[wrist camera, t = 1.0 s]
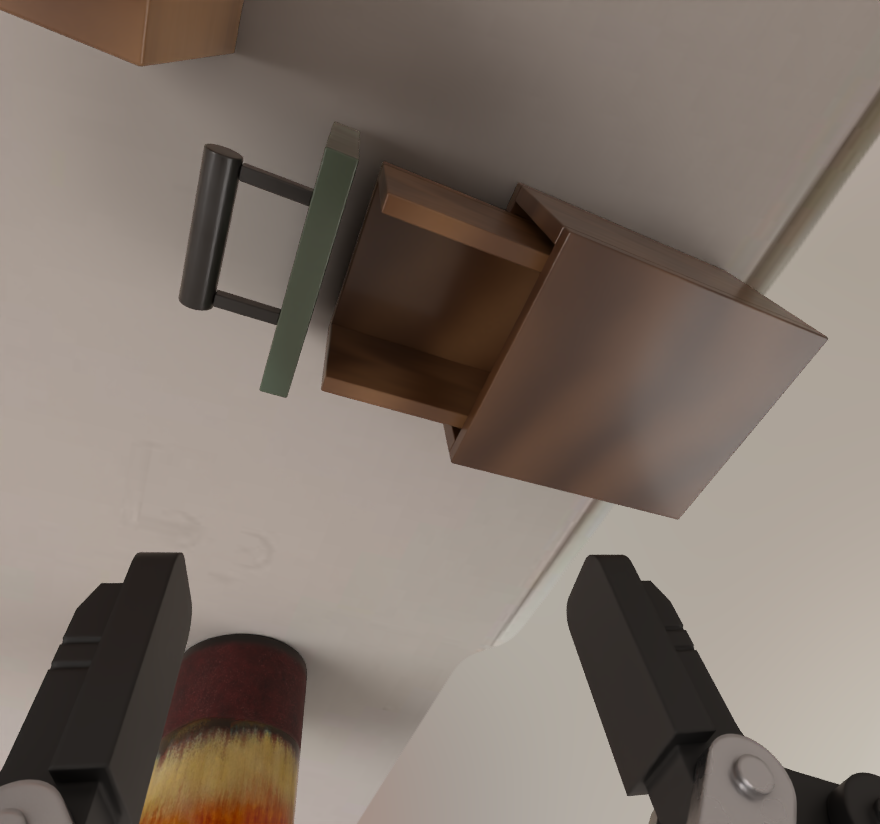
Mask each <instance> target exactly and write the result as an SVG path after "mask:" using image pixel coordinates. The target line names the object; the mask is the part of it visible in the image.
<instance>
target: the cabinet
mask: <svg viewBox="0 0 880 824" xmlns="http://www.w3.org/2000/svg"><path fill="white" fill-rule="evenodd" d="M505 211H508V212H510V213H513V214H515V215H517V216H520V217H522V218H525V219H527V220H530V221H532V222H535V223H536V224H537V225H538V227H539V228H540V229H541V230H542V231H543V232H544V233H545V234H546V235H547V236H548V238H549V239H550V240H551V241H552V242H553V243H554V244H555V246H554V248H553V250H552V252H551V253H550V255H549V257H548V259H547V261H546V263H545V265H544V267H543V269H542V271H541V273H540V275H539V277H538V279H537V281H536V283H535V285H534V287H533V289H532V291H531V293H530V295H529V297H528V299H527V301H526V303H525V305H524V307H523V309H522V311H521V313H520V315H519V317H518V319H517V321H516V322H515V324H514V326H513V328H512V330H511V332H510V334H509V336H508V338H507V340H506V342H505V344H504V346H503V348H502V350H501V352H500V354H499V356H498V358H497V360H496V362H495V364H494V366H493V368H492V370H491V372H490V374H489V376H488V378H487V380H486V382H485V384H484V386H483V388H482V390H481V392H480V393H479V395H478V397H477V399H476V401H475V403H474V405H473V407H472V409H471V411H470V413H469V415H468V417H467V419H466V421H465V423H464V425H463V427H462V429H461V428H457V427H454V426H450V425H446V424H443V425H444V430H445V435H446V440H447V445H448V450H449V452H450V453H449V454H450V459H451V462H452V463H454V464H458V465H462V466H466V467H470V468H474V469H478V470H482V471H486V472H490V473H494V474H498V475H502V476H506V477H510V478H514V479H518V480H522V481H526V482H530V483H534V484H538V485H542V486H546V487H550V488H554V489H558V490H562V491H566V492H570V493H574V494H578V495H582V496H586V497H590V498H594V499H598V500H602V501H606V502H610V503H614V504H618V505H622V506H626V507H631V508H634V509H638V510H642V511H646V512H650V513H654V514H658V515H662V516H666V517H670V518H674V519H679V518H680V517H681V516H682V515H683V513H684V512H685V511H686V510H687V508H688V507H689V506H690V505H691V504H692V503H693V501H694V500H695V499H696V498H697V497H698V495H699V494H700V493H701V492H702V491H703V489H704V488H705V487H706V486H707V485H708V483H709V482H710V481H711V480H712V479H713V477H714V476H715V475H716V474H717V472H718V471H719V470H720V469H721V468H722V466H723V465H724V464H725V463H726V462H727V460H728V459H729V458H730V457H731V456H732V454H733V453H734V452H735V451H736V450H737V448H738V447H739V446H740V445H741V443H742V442H743V441H744V440H745V439H746V438H747V436H748V435H749V434H750V433H751V431H752V430H753V429H754V428H755V426H757V424H758V423H759V422H760V421H761V420H762V418H763V417H764V416H765V415H766V413H767V412H768V411H769V410H770V409H771V407H772V406H773V405H774V404H775V403H776V401H777V400H778V399H779V398H780V397H781V395H782V394H783V393H784V392H785V391H786V389H787V388H788V387H789V386H790V385H791V383H792V382H793V381H794V380H795V378H796V377H797V376H798V375H799V373H801V371H802V370H803V369H804V368H805V366H806V365H807V364H808V363H809V362H810V361H811V359H812V358H813V357H814V356H815V354H816V353H817V352H818V351H819V350H820V348H821V347H822V346H823V345H824V344H825V342H826V341H827V340H828V338H827V337H826V336H825V335H823V334H822V333H820V332H818V331H817V330H816V329H814V328H812V327H811V326H809V325H808V324H806V323H805V322H803V321H802V320H800V319H799V318H797V317H795V316H794V315H792V314H791V313H789V312H788V311H786V310H785V309H783V308H782V307H780V306H779V305H777V304H776V303H774V302H773V301H771V300H769V299H768V298H767V297H765V296H763V295H762V294H760V293H759V292H757V291H756V290H754V289H753V288H751V287H750V286H748V285H747V284H745V283H744V282H742V281H741V280H739V279H737V278H736V277H734V276H733V275H731V274H730V273H728V272H727V271H725V270H722V269H720V268H718V267H715V266H713V265H711V264H708V263H706V262H704V261H701V260H699V259H697V258H694V257H692V256H690V255H687V254H685V253H683V252H680V251H678V250H676V249H673V248H671V247H669V246H666V245H664V244H662V243H659V242H657V241H655V240H652V239H650V238H648V237H645V236H643V235H641V234H638V233H636V232H634V231H631V230H629V229H627V228H625V227H622V226H620V225H618V224H615V223H613V222H611V221H608V220H606V219H604V218H601V217H599V216H597V215H594V214H592V213H590V212H587V211H585V210H583V209H580V208H578V207H576V206H573V205H571V204H569V203H566V202H564V201H562V200H559V199H557V198H555V197H552V196H550V195H548V194H545V193H543V192H541V191H538V190H536V189H534V188H531V187H529V186H527V185H524V184H522V183H520V182H518V184H517V186H516V188H515V190H514V193H513V195H512V197H511V199H510V202H509V204H508V206H507V208H506V210H505Z"/></svg>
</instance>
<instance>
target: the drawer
mask: <svg viewBox="0 0 880 824" xmlns="http://www.w3.org/2000/svg"><path fill="white" fill-rule="evenodd" d="M359 141H360V132H359V131H356V130H354V129H352V128H349V127H347V126H345V125H342V124H340V123H337V122H334V123H333V126H332V129H331V132H330V135H329V138H328V141H327V144H326V147H325V150H324V154H323V158H322V161H321V165H320V169H319V172H318V176H317V180H316V183H315V187H314V189H312V188H310V187H307V186H305V185H302V184H299V183H297V182H294V181H291V180H289V179H286V178H283V177H281V176H278V175H276V174H273V173H270V172H268V171H265V170H262V169H260V168H257V167H254V166H252V165H249V164H246V163H244V164H243V157H242V156H241V155H240V154H239V153H237V152H235V151H233V150H231V149H229V148H226V147H223V146H220V145H215V144H206V145H205V146H204V152H203V158H202V164H201V169H200V175H199V181H198V187H197V193H196V199H195V205H194V211H193V217H192V223H191V228H190V234H189V240H188V246H187V252H186V258H185V264H184V270H183V276H182V281H181V287H180V293H179V301H180V302H181V303H182V304H183V305H184V306H186V307H189V308H191V309H195V310H209V309H211V308H212V307H213V306H214V307H217V308H221V309H224V310H228V311H231V312H234V313H238V314H241V315H244V316H248V317H251V318H254V319H258V320H261V321H264V322H268V323H271V324H274V325H277V327H276V330H275V334H274V338H273V342H272V345H271V349H270V353H269V356H268V360H267V364H266V367H265V371H264V375H263V378H262V382H261V386H260V391H262V392H266V393H270V394H274V395H277V396H281V397H285V398H286V397H287V396H288V392H289V389H290V386H291V383H292V379H293V376H294V373H295V369H296V366H297V363H298V360H299V356H300V353H301V350H302V346H303V343H304V340H305V336H306V333H307V330H308V327H309V323H310V320H311V317H312V313H313V310H314V307H315V304H316V300H317V297H318V294H319V290H320V287H321V284H322V280H323V277H324V274H325V271H326V267H327V264H328V261H329V257H330V254H331V251H332V247H333V244H334V241H335V238H336V234H337V231H338V228H339V224H340V221H341V218H342V215H343V211H344V208H345V205H346V201H347V198H348V195H349V191H350V188H351V185H352V182H353V178H354V175H355V172H356V168H357V165H358V162H359ZM242 164H243V165H242ZM239 180H240V181H242V182H244V183H247V184H250V185H253V186H255V187H258V188H261V189H263V190H266V191H269V192H272V193H274V194H277V195H280V196H282V197H285V198H288V199H291V200H293V201H296V202H299V203H301V204H304V205H307V206H309V209H308V213H307V216H306V220H305V224H304V227H303V231H302V235H301V238H300V242H299V246H298V250H297V253H296V257H295V261H294V264H293V268H292V272H291V275H290V279H289V283H288V286H287V290H286V294H285V297H284V301H283V305H282V308H281V309H279V308H275V307H272V306H269V305H266V304H262V303H259V302H256V301H253V300H250V299H246V298H243V297H240V296H237V295H233V294H230V293H227V292H224V291H220V290H217V286H218V281H219V276H220V271H221V266H222V261H223V256H224V251H225V247H226V242H227V237H228V232H229V227H230V222H231V217H232V212H233V207H234V203H235V198H236V193H237V188H238V183H239ZM554 246H555V244H554V243H553V242H552V241H551V240H550V239H549V238H548V236H547V235H546V234H545V233H544V232H543V231H542V230H541V229H540V228H539V227H538V225H537V224H536V223H535V222H532V221H530V220H527V219H525V218H522V217H520V216H517V215H515V214H513V213H510V212H508V211H505V210H503V209H500V208H498V207H495V206H493V205H491V204H488V203H486V202H483V201H481V200H478V199H476V198H473V197H471V196H469V195H466V194H464V193H461V192H459V191H456V190H454V189H451V188H449V187H447V186H444V185H442V184H439V183H437V182H434V181H432V180H429V179H427V178H425V177H422V176H420V175H417V174H415V173H412V172H410V171H407V170H405V169H403V168H400V167H398V166H395V165H393V164H390V163H388V162H386V161H383V162H382V165H381V168H380V171H379V174H378V177H377V180H376V183H375V186H374V190H373V193H372V196H371V199H370V202H369V205H368V208H367V211H366V214H365V217H364V220H363V223H362V227H361V230H360V233H359V236H358V239H357V242H356V245H355V248H354V251H353V254H352V257H351V261H350V264H349V267H348V270H347V273H346V276H345V279H344V282H343V285H342V288H341V291H340V294H339V298H338V301H337V304H336V307H335V310H334V313H333V316H332V319H331V322H330V325H329V328H328V336H327V345H326V353H325V361H324V369H323V378H322V386H321V390H322V391H325V392H329V393H332V394H336V395H340V396H343V397H347V398H351V399H354V400H358V401H362V402H365V403H369V404H373V405H376V406H380V407H384V408H388V409H391V410H395V411H399V412H402V413H406V414H410V415H413V416H417V417H421V418H424V419H428V420H432V421H435V422H439V423H443V424H446V425H450V426H454V427H457V428H461V429H462V427H463V425H464V423H465V421H466V419H467V417H468V415H469V413H470V411H471V409H472V407H473V405H474V403H475V401H476V399H477V397H478V395H479V393H480V392H481V390H482V388H483V386H484V384H485V382H486V380H487V378H488V376H489V374H490V372H491V370H492V368H493V366H494V364H495V362H496V360H497V358H498V356H499V354H500V352H501V350H502V348H503V346H504V344H505V342H506V340H507V338H508V336H509V334H510V332H511V330H512V328H513V326H514V324H515V322H516V321H517V319H518V317H519V315H520V313H521V311H522V309H523V307H524V305H525V303H526V301H527V299H528V297H529V295H530V293H531V291H532V289H533V287H534V285H535V283H536V281H537V279H538V277H539V275H540V273H541V271H542V269H543V267H544V265H545V263H546V261H547V259H548V257H549V255H550V253H551V252H552V250H553V248H554ZM216 291H217V292H216Z"/></svg>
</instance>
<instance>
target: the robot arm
mask: <svg viewBox="0 0 880 824" xmlns="http://www.w3.org/2000/svg"><path fill="white" fill-rule="evenodd" d="M191 616H192V602H191V596H190V589H189V583H188V577H187V571H186V565H185V559H184V555H183V553H159V552H140V553H137V554H136V555H135V557H134V558H133V560H132V563H131V565H130V567H129V570H128V572H127V575H126V577H125V580H124V582H123V583H101V584H100V585H99V586H98V587H97V588H96V589H95V590H94V591H93V592H92V593H91V595H90V596H89V597H88V598H87V599H86V600H85V601H84V602H83V603H82V604H81V605H80V606H79V607H78V608H77V609H76V611H75V613H74V616H73V618H72V620H71V622H70V624H69V626H68V628H67V631H66V633H65V635H64V637H63V643H62V644H61V645H60V646H59V648H58V650H57V652H56V654H55V657H54V659H53V661H52V663H51V664H52V665H51V669H50V670H48V672H47V674H46V676H45V678H44V680H43V682H42V685H41V687H40V689H39V691H38V693H37V695H36V697H35V700H34V702H33V704H32V706H31V708H30V710H29V713H28V715H27V717H26V719H25V721H24V723H23V726H22V728H21V730H20V732H19V734H18V736H17V738H16V741H15V743H14V745H13V747H12V749H11V751H10V754H9V756H8V758H7V760H6V762H5V764H4V766H3V768H2V770H1V772H0V824H139V822H140V818H141V814H142V810H143V807H144V803H145V799H146V795H147V791H148V788H149V784H150V780H151V776H152V772H153V769H154V765H155V761H156V757H157V754H158V750H159V746H160V742H161V738H162V735H163V731H164V727H165V723H166V720H167V716H168V712H169V708H170V704H171V701H172V697H173V693H174V689H175V685H176V682H177V678H178V674H179V670H180V667H181V663H182V659H183V655H184V651H185V648H186V644H187V640H188V636H189V631H190V625H191ZM567 621H568V626H569V630H570V633H571V636H572V638H573V641H574V644H575V647H576V650H577V653H578V656H579V658H580V661H581V664H582V667H583V670H584V673H585V676H586V679H587V681H588V684H589V687H590V690H591V693H592V696H593V699H594V702H595V704H596V707H597V710H598V713H599V716H600V719H601V721H602V724H603V727H604V730H605V733H606V736H607V739H608V742H609V745H610V747H611V750H612V753H613V756H614V759H615V762H616V764H617V767H618V770H619V773H620V776H621V779H622V782H623V784H624V787H625V790H626V793H627V796H634V795H645V794H649V797H650V799H651V802H652V805H653V807H654V811H653V812H652V814H651V818H650V821H649V824H880V777H879V776H877V775H873V774H870V773H856V774H854V775H852V776H850V777H849V778H848V779H847V780H845V781H844V782H843V783H842V784H840V785H839V784H835V783H832V782H828V781H825V780H822V779H819V778H815V777H812V776H809V775H805V774H802V773H799V772H795V771H792V770H789V769H787V768H784V767H783V766H782V765H781V764H780V762H779V761H778V760H777V759H776V758H775V757H774V756H773V755H772V754H771V753H770V752H769V751H768V750H767V749H766V748H764V747H763V746H762V745H760V744H759V743H757V742H756V741H754V740H752V739H750V738H748V737H745V736H744V735H743V734H742V732H741V731H740V730H739V728H738V726H737V724H736V723H735V721H734V719H733V717H732V715H731V714H730V712H729V710H728V708H727V706H726V704H725V702H724V701H723V699H722V697H721V695H720V693H719V691H718V689H717V687H716V686H715V684H714V682H713V680H712V678H711V676H710V674H709V673H708V671H707V669H706V667H705V665H704V663H703V662H702V660H701V658H700V656H699V654H698V652H697V651H696V650H694V647H693V646H694V645H693V643H692V641H691V639H690V637H689V635H688V633H687V631H686V630H684V629H683V624H682V622H681V620H680V618H679V617H678V615H677V613H676V611H675V609H674V607H673V605H672V604H671V602H670V601H669V600H668V599H667V598H666V596H665V595H664V594H663V593H662V592H661V591H660V590H659V589H658V588H657V587H656V586H655V585H654V584H653V583H652V582H651V581H641V580H640V578H639V576H638V574H637V573H636V570H635V568H634V566H633V564H632V562H631V561H630V559H629V558H628V557H627V556H625V555H589V556H588V557H587V558H586V560H585V562H584V564H583V566H582V568H581V571H580V573H579V575H578V578H577V580H576V582H575V584H574V587H573V589H572V591H571V594H570V596H569V598H568V602H567Z"/></svg>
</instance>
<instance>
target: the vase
mask: <svg viewBox="0 0 880 824" xmlns="http://www.w3.org/2000/svg"><path fill="white" fill-rule="evenodd" d="M306 680H307V669H306V664H305V662H304V660H303V658H302V657H301V656H300V655H299V653H298V652H296V651H295V650H294V649H293V648H291V647H289V646H288V645H286V644H284V643H282V642H279V641H277V640H274V639H271V638H267V637H262V636H257V635H225V636H220V637H215V638H211V639H208V640H205V641H202V642H200V643H198V644H196V645H194V646H193V647H191V648H189V649H188V650H187V651H186V652H185V653H184V655H183V659H182V663H181V667H180V670H179V674H178V678H177V682H176V685H175V689H174V693H173V697H172V701H171V704H170V708H169V712H168V716H167V720H166V723H165V727H164V731H163V735H162V738H161V742H160V746H159V750H158V754H157V757H156V761H155V765H154V769H153V772H152V776H151V780H150V784H149V788H148V791H147V795H146V799H145V803H144V807H143V810H142V814H141V818H140V822H139V824H294V817H295V805H296V794H297V783H298V772H299V761H300V749H301V738H302V727H303V715H304V704H305V692H306Z"/></svg>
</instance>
